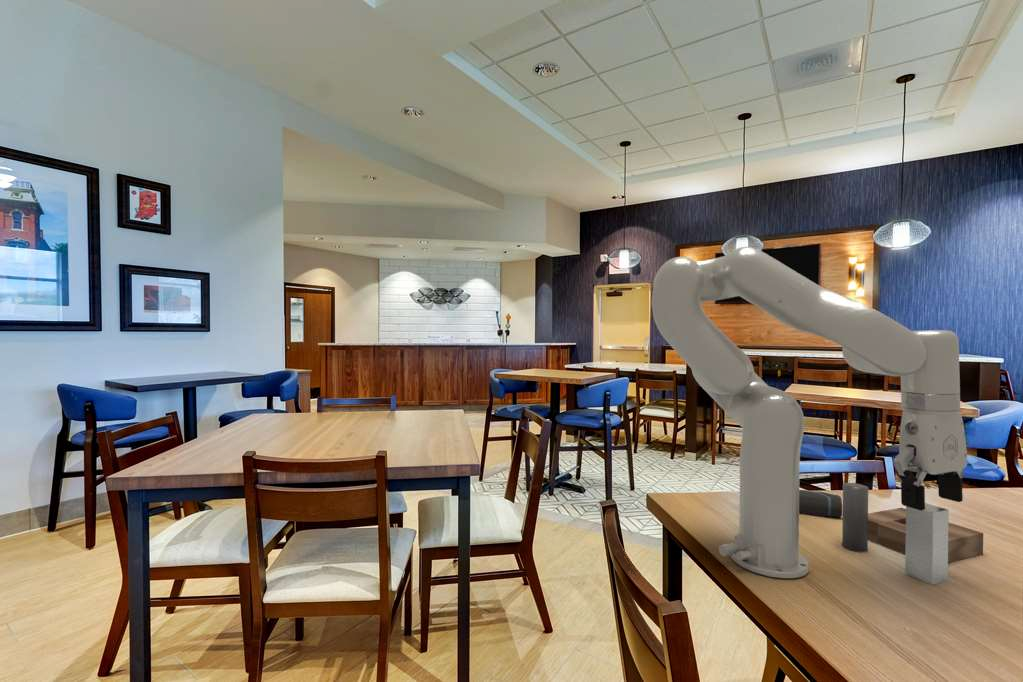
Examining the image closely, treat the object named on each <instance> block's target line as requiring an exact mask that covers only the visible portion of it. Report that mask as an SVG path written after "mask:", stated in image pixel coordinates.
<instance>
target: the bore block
mask: <svg viewBox="0 0 1023 682" xmlns="http://www.w3.org/2000/svg"><path fill="white" fill-rule="evenodd" d="M868 541H870V542H871V543H875V544H877V545H879V546H882V547H886V548H888V549H890V550H893V551H895V552H898V553H901V554H903V555H905V552H906V508H904V507H897V508H891V509H886V510H880V511H879V510H878V511H873V512H868ZM983 554H984V532H981V531H979V530H975V529H971V528H968V527H965V526H962V525H958V524H955V523H952V522H950V521H948V564H949V563H953V562H957V561H961V560H964V559H969V558H972V557H977V556H981V555H983Z"/></svg>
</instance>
